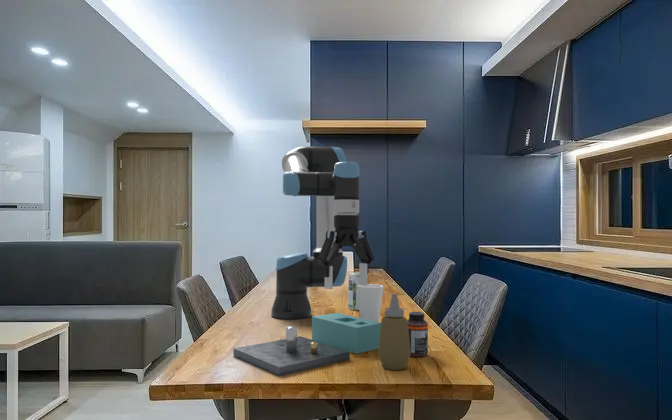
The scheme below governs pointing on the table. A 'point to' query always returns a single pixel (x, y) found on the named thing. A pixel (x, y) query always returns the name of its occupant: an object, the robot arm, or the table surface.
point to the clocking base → (290, 354)
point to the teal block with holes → (346, 332)
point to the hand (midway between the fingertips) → (346, 286)
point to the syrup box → (353, 291)
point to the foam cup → (369, 301)
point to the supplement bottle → (418, 334)
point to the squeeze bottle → (394, 337)
